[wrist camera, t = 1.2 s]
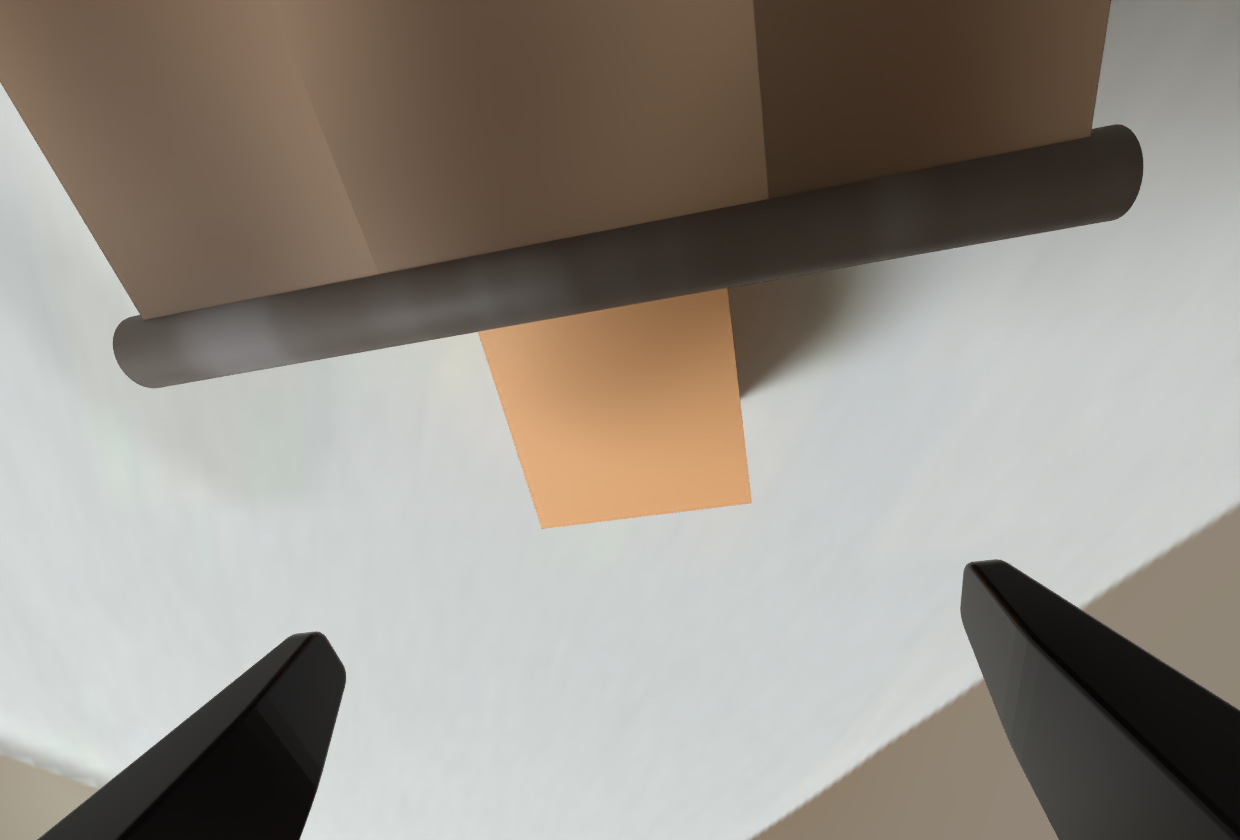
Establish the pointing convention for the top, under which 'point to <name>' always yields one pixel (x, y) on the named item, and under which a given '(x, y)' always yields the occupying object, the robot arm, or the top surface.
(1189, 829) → the robot arm
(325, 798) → the top surface
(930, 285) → the top surface
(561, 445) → the orange rectangular block
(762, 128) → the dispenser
